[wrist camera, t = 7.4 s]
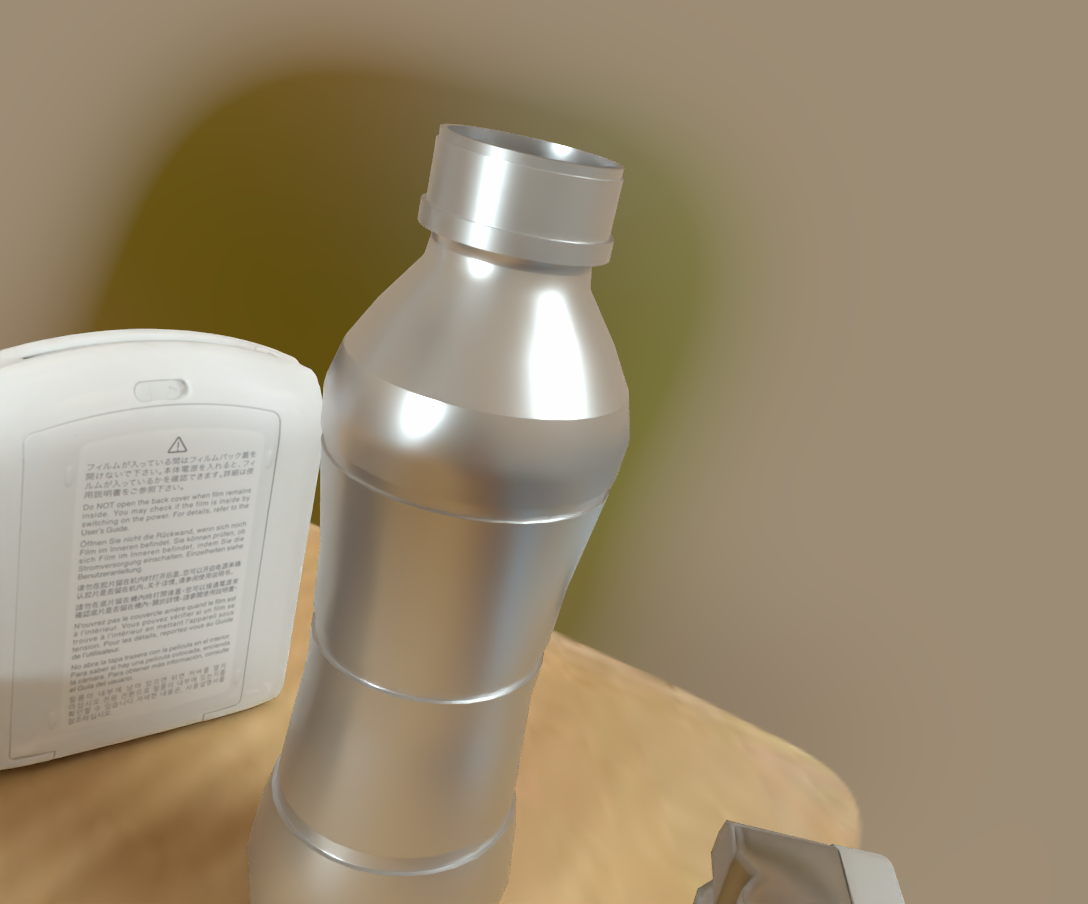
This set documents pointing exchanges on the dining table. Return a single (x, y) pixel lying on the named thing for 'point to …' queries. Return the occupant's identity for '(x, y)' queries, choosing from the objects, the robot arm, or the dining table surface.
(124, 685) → the photo printer
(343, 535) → the aluminum water bottle
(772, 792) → the dining table surface
